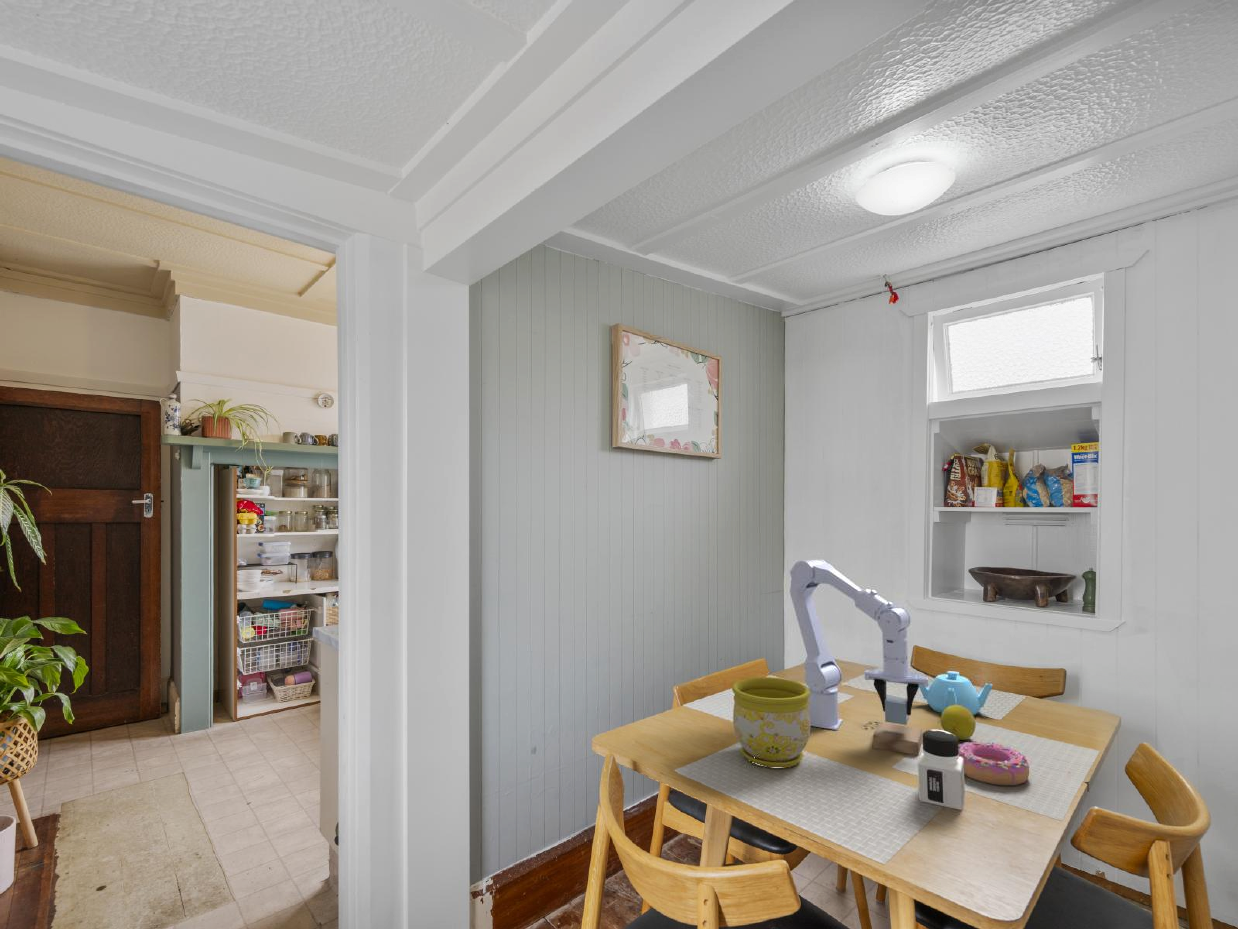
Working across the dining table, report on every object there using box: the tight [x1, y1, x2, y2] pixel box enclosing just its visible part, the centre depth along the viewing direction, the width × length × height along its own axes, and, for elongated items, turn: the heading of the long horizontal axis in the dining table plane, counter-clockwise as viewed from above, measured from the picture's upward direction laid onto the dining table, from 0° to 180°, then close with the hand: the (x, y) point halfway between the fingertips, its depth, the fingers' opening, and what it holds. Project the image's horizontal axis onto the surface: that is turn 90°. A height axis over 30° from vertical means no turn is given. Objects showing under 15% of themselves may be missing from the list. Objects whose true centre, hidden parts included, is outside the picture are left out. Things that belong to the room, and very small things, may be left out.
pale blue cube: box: [884, 695, 910, 726], centre depth 156 cm, size 5×5×5 cm
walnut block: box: [872, 721, 923, 756], centre depth 156 cm, size 10×10×3 cm
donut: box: [958, 741, 1030, 786], centre depth 139 cm, size 14×14×5 cm
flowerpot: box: [731, 676, 811, 768], centre depth 149 cm, size 18×18×16 cm
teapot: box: [915, 670, 993, 716], centre depth 181 cm, size 15×15×11 cm
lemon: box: [940, 705, 976, 741], centre depth 160 cm, size 11×8×8 cm
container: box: [917, 729, 966, 811], centre depth 128 cm, size 8×8×13 cm
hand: (897, 712), depth 156 cm, fingers closed on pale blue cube, 5 cm apart
